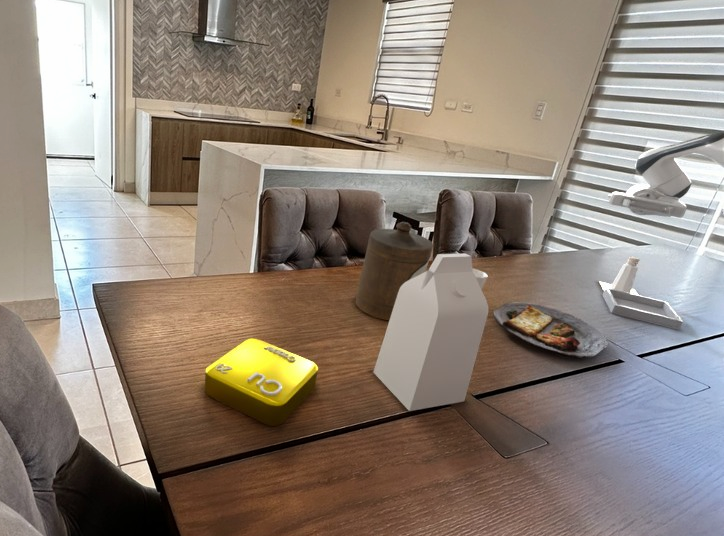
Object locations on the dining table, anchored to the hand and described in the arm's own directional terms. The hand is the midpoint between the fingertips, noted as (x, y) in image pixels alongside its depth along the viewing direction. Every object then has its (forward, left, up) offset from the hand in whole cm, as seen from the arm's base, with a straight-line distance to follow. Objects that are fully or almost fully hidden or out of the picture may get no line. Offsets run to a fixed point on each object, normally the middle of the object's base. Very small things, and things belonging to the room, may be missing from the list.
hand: (648, 208), depth 147 cm
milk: (+49, +103, -25) cm, 117 cm away
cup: (+44, +52, -25) cm, 73 cm away
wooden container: (+62, +73, -25) cm, 99 cm away
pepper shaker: (+1, +12, -25) cm, 27 cm away
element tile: (+73, +120, -25) cm, 143 cm away
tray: (-1, +27, -25) cm, 37 cm away
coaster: (+1, +12, -25) cm, 28 cm away
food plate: (+25, +62, -25) cm, 72 cm away
